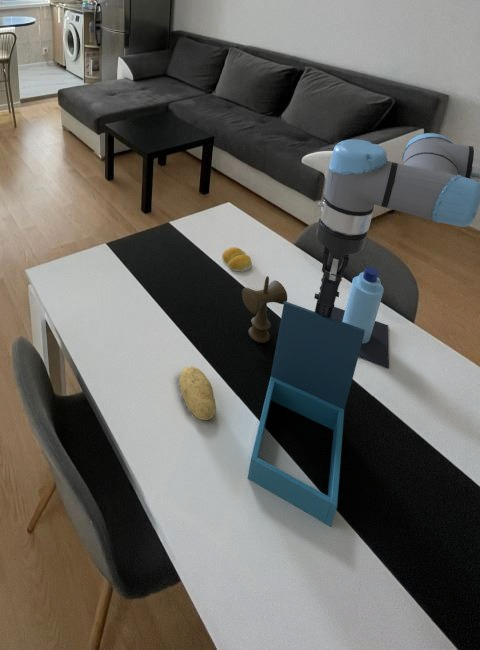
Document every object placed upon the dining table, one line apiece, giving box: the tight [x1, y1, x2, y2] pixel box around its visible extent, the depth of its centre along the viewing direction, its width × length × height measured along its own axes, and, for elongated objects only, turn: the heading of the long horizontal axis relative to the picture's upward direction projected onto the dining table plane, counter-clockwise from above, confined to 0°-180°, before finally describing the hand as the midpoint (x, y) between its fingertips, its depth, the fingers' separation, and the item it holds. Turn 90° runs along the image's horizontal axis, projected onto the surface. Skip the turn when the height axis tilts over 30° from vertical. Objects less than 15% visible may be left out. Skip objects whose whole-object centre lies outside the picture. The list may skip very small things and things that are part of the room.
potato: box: [179, 365, 217, 421], centre depth 95 cm, size 7×11×6 cm, turn 7°
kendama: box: [241, 275, 288, 344], centre depth 107 cm, size 6×10×20 cm, turn 106°
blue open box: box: [247, 376, 345, 528], centre depth 83 cm, size 19×14×8 cm
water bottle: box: [342, 266, 385, 344], centre depth 106 cm, size 6×6×20 cm
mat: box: [331, 306, 390, 370], centre depth 110 cm, size 14×14×1 cm
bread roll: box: [221, 247, 253, 272], centre depth 136 cm, size 8×9×4 cm
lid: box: [270, 301, 365, 410], centre depth 86 cm, size 20×14×1 cm
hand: (320, 322), depth 85 cm, fingers closed
